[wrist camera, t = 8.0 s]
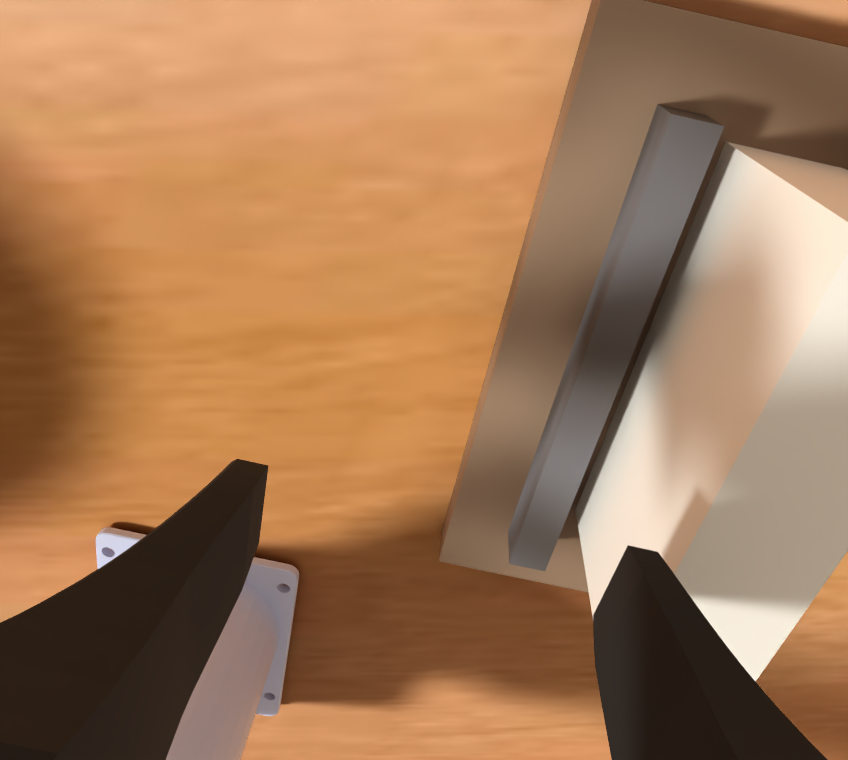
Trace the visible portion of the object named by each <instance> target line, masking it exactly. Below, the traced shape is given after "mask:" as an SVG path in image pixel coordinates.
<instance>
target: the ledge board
mask: <svg viewBox="0 0 848 760" xmlns="http://www.w3.org/2000/svg"><path fill="white" fill-rule="evenodd" d="M725 142H729V143H734V144H738V145H743V146H747V147H752V148H756V149H760V150H765V151H769V152H774V153H778V154H783V155H787V156H791V157H796V158H800V159H805V160H809V161H814V162H818V163H822V164H827V165H831V166H836V167H840V168H844V169H846V170H848V47H844V46H840V45H836V44H831V43H827V42H823V41H818V40H814V39H810V38H805V37H801V36H797V35H792V34H788V33H784V32H779V31H775V30H771V29H766V28H762V27H757V26H753V25H749V24H744V23H740V22H736V21H731V20H727V19H723V18H718V17H714V16H710V15H705V14H701V13H697V12H692V11H688V10H684V9H679V8H675V7H671V6H666V5H662V4H658V3H653V2H649V1H645V0H592V2H591V5H590V9H589V13H588V16H587V20H586V23H585V27H584V30H583V34H582V37H581V41H580V44H579V48H578V51H577V55H576V59H575V62H574V66H573V69H572V73H571V76H570V80H569V83H568V87H567V90H566V94H565V97H564V101H563V105H562V108H561V112H560V115H559V119H558V122H557V126H556V129H555V133H554V136H553V140H552V143H551V147H550V151H549V154H548V158H547V161H546V165H545V168H544V172H543V175H542V179H541V182H540V186H539V189H538V193H537V196H536V200H535V204H534V207H533V211H532V214H531V218H530V221H529V225H528V228H527V232H526V235H525V239H524V242H523V246H522V250H521V253H520V257H519V260H518V264H517V267H516V271H515V274H514V278H513V281H512V285H511V288H510V292H509V296H508V299H507V303H506V306H505V310H504V313H503V317H502V320H501V324H500V327H499V331H498V334H497V338H496V342H495V345H494V349H493V352H492V356H491V359H490V363H489V366H488V370H487V373H486V377H485V380H484V384H483V388H482V391H481V395H480V398H479V402H478V405H477V409H476V412H475V416H474V419H473V423H472V426H471V430H470V433H469V437H468V441H467V444H466V448H465V451H464V455H463V458H462V462H461V465H460V469H459V472H458V476H457V479H456V483H455V487H454V490H453V494H452V497H451V501H450V504H449V508H448V511H447V515H446V518H445V522H444V525H443V529H442V533H441V544H440V555H439V562H444V563H449V564H453V565H458V566H463V567H468V568H473V569H477V570H482V571H487V572H492V573H497V574H501V575H506V576H511V577H516V578H521V579H526V580H530V581H535V582H540V583H545V584H550V585H554V586H559V587H564V588H569V589H574V590H578V591H583V592H588V593H589V591H588V585H587V579H586V573H585V566H584V560H583V554H582V548H581V542H580V535H579V529H578V523H577V517H576V511H575V510H576V507H577V505H578V502H579V500H580V497H581V495H582V493H583V490H584V488H585V485H586V483H587V480H588V478H589V475H590V473H591V471H592V468H593V466H594V463H595V461H596V458H597V456H598V453H599V451H600V448H601V446H602V444H603V441H604V439H605V436H606V434H607V431H608V429H609V426H610V424H611V422H612V419H613V417H614V414H615V412H616V409H617V407H618V404H619V402H620V399H621V397H622V395H623V392H624V390H625V387H626V385H627V382H628V380H629V377H630V375H631V373H632V370H633V368H634V365H635V363H636V360H637V358H638V355H639V353H640V350H641V348H642V346H643V343H644V341H645V338H646V336H647V333H648V331H649V328H650V326H651V324H652V321H653V319H654V316H655V314H656V311H657V309H658V306H659V304H660V301H661V299H662V297H663V294H664V292H665V289H666V287H667V284H668V282H669V279H670V277H671V275H672V272H673V270H674V267H675V265H676V262H677V260H678V257H679V255H680V252H681V250H682V248H683V245H684V243H685V240H686V238H687V235H688V233H689V230H690V228H691V226H692V223H693V221H694V218H695V216H696V213H697V211H698V208H699V206H700V203H701V201H702V199H703V196H704V194H705V191H706V189H707V186H708V184H709V181H710V179H711V177H712V174H713V172H714V169H715V167H716V164H717V162H718V159H719V157H720V154H721V152H722V150H723V147H724V145H725Z"/></svg>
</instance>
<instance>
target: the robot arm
mask: <svg viewBox="0 0 848 760" xmlns="http://www.w3.org/2000/svg"><path fill="white" fill-rule="evenodd" d="M267 472H268V466H267V465H263V464H258V463H254V462H249V461H245V460H240V459H236V460H234V461H233V462H231V463H230V464H229V465H228V466H227V467H226V468H225V469H224V470H223V471H222V472H221V473H220V474H219V475H218V476H217V477H216V478H214V479H213V480H212V481H211V482H210V483H209V484H208V485H207V486H206V487H205V488H204V489H202V490H201V491H200V492H199V493H198V494H197V495H196V496H195V497H193V498H192V499H191V500H190V501H189V502H188V503H186V504H185V505H184V506H183V507H181V508H180V509H179V510H178V511H177V512H175V513H174V514H173V515H172V516H171V517H169V518H168V519H167V520H166V521H165V522H163V523H162V524H161V525H159V526H158V527H157V528H156V529H154V530H153V531H152V532H150V533H149V534H147V535H145V534H141V533H136V532H131V531H126V530H121V529H116V528H110V527H106V528H103V529H102V530H101V531H100V532H99V533H98V535H97V536H96V553H97V568H98V569H97V570H96V571H94V572H93V573H91V574H89V575H88V576H86V577H85V578H83V579H81V580H80V581H78V582H76V583H75V584H73V585H71V586H69V587H68V588H66V589H64V590H62V591H61V592H59V593H57V594H55V595H53V596H52V597H50V598H48V599H46V600H45V601H43V602H41V603H39V604H37V605H35V606H33V607H31V608H30V609H28V610H26V611H24V612H22V613H20V614H18V615H16V616H14V617H12V618H10V619H7V620H5V621H3V622H1V623H0V760H241V757H242V754H243V751H244V748H245V745H246V742H247V739H248V736H249V733H250V729H251V726H252V723H253V720H254V717H255V714H260V715H265V716H274V715H276V714H278V712H279V709H280V705H281V699H282V692H283V685H284V678H285V671H286V664H287V657H288V651H289V644H290V637H291V630H292V623H293V616H294V609H295V603H296V596H297V589H298V582H299V571H298V570H297V568H295V567H294V566H292V565H290V564H286V563H281V562H276V561H271V560H266V559H261V558H257V557H254V555H255V552H256V549H257V546H258V544H259V537H260V529H261V521H262V513H263V504H264V496H265V488H266V480H267ZM110 548H111V549H110ZM283 584H286V585H288V586H285V585H283ZM593 627H594V651H595V666H596V672H597V679H598V684H599V690H600V696H601V702H602V708H603V713H604V719H605V724H606V730H607V735H608V741H609V746H610V752H611V757H612V760H827V759H826V758H825V757H824V756H823V755H822V754H821V753H820V752H819V751H818V750H817V749H816V748H815V747H814V746H813V745H812V744H811V743H810V742H809V741H808V740H807V739H806V738H805V736H804V735H803V734H802V733H801V732H800V731H799V730H798V729H797V728H796V727H795V726H794V725H793V724H792V723H791V721H790V720H789V719H788V718H787V717H786V716H785V715H784V714H783V713H782V712H781V711H780V710H779V709H778V707H777V706H776V705H775V704H774V703H773V702H772V701H771V700H770V698H769V697H768V696H767V695H766V694H765V693H764V691H763V690H762V689H761V688H760V687H759V685H758V684H757V683H756V682H755V681H754V679H753V678H752V677H751V676H750V674H749V673H748V672H747V671H746V670H745V668H744V667H743V666H742V665H741V664H740V662H739V661H738V660H737V658H736V657H735V656H734V655H733V653H732V652H731V651H730V650H729V648H728V647H727V646H726V644H725V643H724V642H723V640H722V639H721V638H720V637H719V635H718V634H717V632H716V631H715V630H714V628H713V627H712V626H711V624H710V623H709V622H708V620H707V619H706V618H705V616H704V615H703V614H702V612H701V611H700V609H699V608H698V607H697V605H696V604H695V602H694V601H693V600H692V598H691V597H690V595H689V594H688V593H687V591H686V590H685V588H684V587H683V586H682V584H681V583H680V581H679V580H678V579H677V577H676V576H675V574H674V573H673V572H672V570H671V569H670V567H669V566H668V565H667V563H666V562H665V561H664V559H663V558H662V557H661V555H660V554H659V553H658V552H656V551H652V550H647V549H643V548H638V547H634V546H629V545H628V546H627V548H626V550H625V552H624V554H623V556H622V558H621V560H620V562H619V564H618V566H617V568H616V570H615V572H614V574H613V576H612V578H611V580H610V582H609V584H608V586H607V588H606V590H605V592H604V594H603V596H602V598H601V600H600V602H599V604H598V606H597V608H596V610H595V612H594V615H593Z"/></svg>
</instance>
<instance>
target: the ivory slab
mask: <svg viewBox="0 0 848 760" xmlns="http://www.w3.org/2000/svg"><path fill="white" fill-rule="evenodd" d="M575 511H576V517H577V523H578V529H579V535H580V542H581V548H582V554H583V560H584V566H585V573H586V579H587V585H588V591H589V597H590V604H591V610H592V616H593V615H594V612H595V610H596V608H597V606H598V604H599V602H600V600H601V598H602V596H603V594H604V592H605V590H606V588H607V586H608V584H609V582H610V580H611V578H612V576H613V574H614V572H615V570H616V568H617V566H618V564H619V562H620V560H621V558H622V556H623V554H624V552H625V550H626V548H627V546H628V545H629V546H634V547H638V548H643V549H647V550H652V551H656V552H658V553H659V554H660V555H661V557H662V558H663V559H664V561H665V562H666V563H667V565H668V566H669V567H670V569H671V570H672V572H673V573H674V574H675V576H676V577H677V579H678V580H679V581H680V583H681V584H682V586H683V587H684V588H685V590H686V591H687V593H688V594H689V595H690V597H691V598H692V600H693V601H694V602H695V604H696V605H697V607H698V608H699V609H700V611H701V612H702V614H703V615H704V616H705V618H706V619H707V620H708V622H709V623H710V624H711V626H712V627H713V628H714V630H715V631H716V632H717V634H718V635H719V637H720V638H721V639H722V640H723V642H724V643H725V644H726V646H727V647H728V648H729V650H730V651H731V652H732V653H733V655H734V656H735V657H736V658H737V660H738V661H739V662H740V664H741V665H742V666H743V667H744V668H745V670H746V671H747V672H748V673H749V674H750V676H751V677H752V678H753V679H754V681H755V682H756V680H757V679H758V677H759V676H760V675H761V673H762V672H763V670H764V669H765V668H766V666H767V665H768V663H769V662H770V660H771V659H772V658H773V656H774V655H775V653H776V652H777V650H778V649H779V648H780V646H781V645H782V643H783V642H784V641H785V639H786V638H787V636H788V635H789V633H790V632H791V631H792V629H793V628H794V626H795V625H796V624H797V622H798V621H799V619H800V618H801V616H802V615H803V614H804V612H805V611H806V609H807V608H808V606H809V605H810V604H811V602H812V601H813V599H814V598H815V597H816V595H817V594H818V592H819V591H820V589H821V588H822V587H823V585H824V584H825V582H826V581H827V580H828V578H829V577H830V575H831V574H832V572H833V571H834V570H835V568H836V567H837V565H838V564H839V563H840V561H841V560H842V558H843V557H844V555H845V554H846V553H847V551H848V170H846V169H844V168H840V167H836V166H831V165H827V164H822V163H818V162H814V161H809V160H805V159H800V158H796V157H791V156H787V155H783V154H778V153H774V152H769V151H765V150H760V149H756V148H752V147H747V146H743V145H738V144H734V143H729V142H725V145H724V147H723V150H722V152H721V154H720V157H719V159H718V162H717V164H716V167H715V169H714V172H713V174H712V177H711V179H710V181H709V184H708V186H707V189H706V191H705V194H704V196H703V199H702V201H701V203H700V206H699V208H698V211H697V213H696V216H695V218H694V221H693V223H692V226H691V228H690V230H689V233H688V235H687V238H686V240H685V243H684V245H683V248H682V250H681V252H680V255H679V257H678V260H677V262H676V265H675V267H674V270H673V272H672V275H671V277H670V279H669V282H668V284H667V287H666V289H665V292H664V294H663V297H662V299H661V301H660V304H659V306H658V309H657V311H656V314H655V316H654V319H653V321H652V324H651V326H650V328H649V331H648V333H647V336H646V338H645V341H644V343H643V346H642V348H641V350H640V353H639V355H638V358H637V360H636V363H635V365H634V368H633V370H632V373H631V375H630V377H629V380H628V382H627V385H626V387H625V390H624V392H623V395H622V397H621V399H620V402H619V404H618V407H617V409H616V412H615V414H614V417H613V419H612V422H611V424H610V426H609V429H608V431H607V434H606V436H605V439H604V441H603V444H602V446H601V448H600V451H599V453H598V456H597V458H596V461H595V463H594V466H593V468H592V471H591V473H590V475H589V478H588V480H587V483H586V485H585V488H584V490H583V493H582V495H581V497H580V500H579V502H578V505H577V507H576V510H575Z"/></svg>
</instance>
